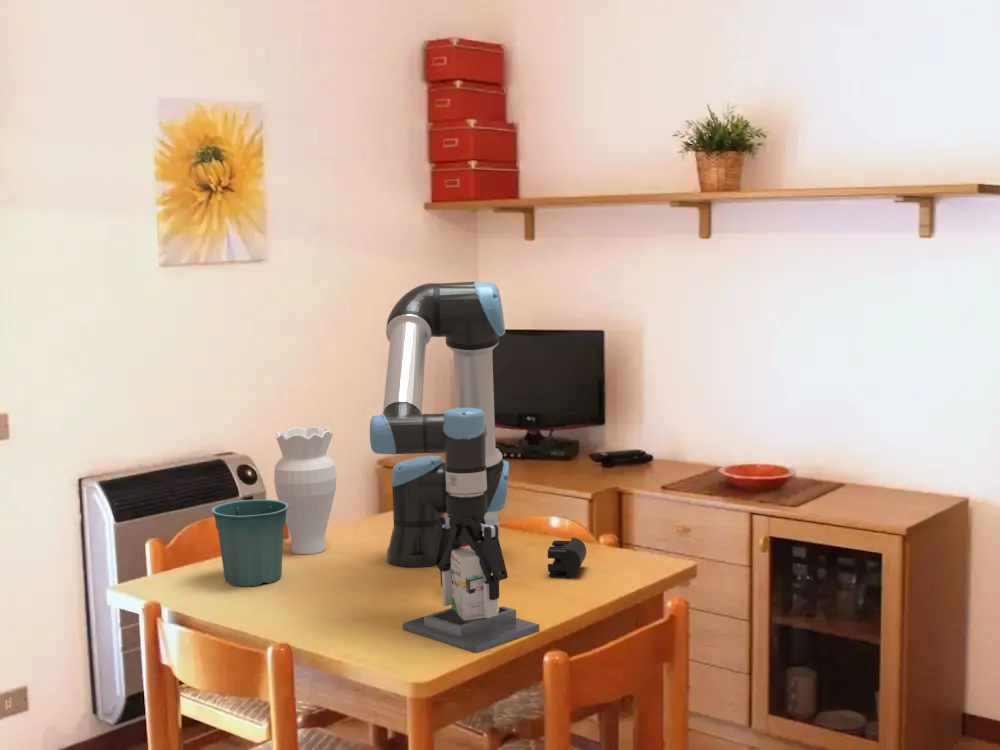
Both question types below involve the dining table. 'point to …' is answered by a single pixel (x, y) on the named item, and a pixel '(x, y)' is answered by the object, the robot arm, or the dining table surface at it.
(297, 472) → the vase
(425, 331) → the robot arm
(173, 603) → the dining table surface
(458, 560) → the ink box
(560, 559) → the end cap
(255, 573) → the flower pot
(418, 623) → the plate
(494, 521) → the skincare box
